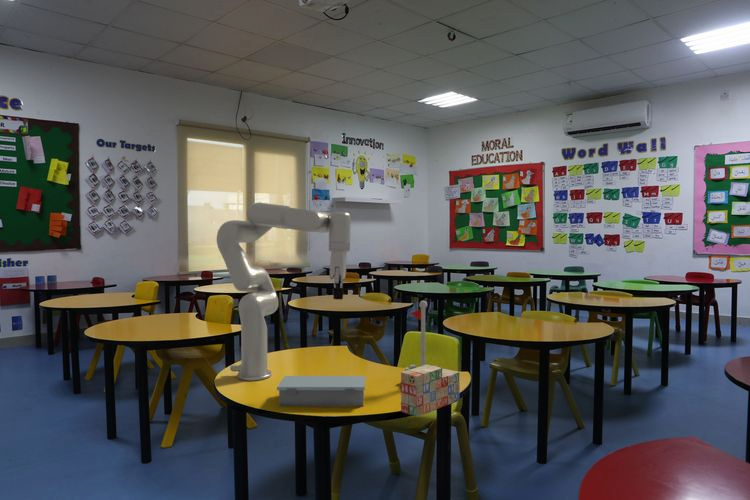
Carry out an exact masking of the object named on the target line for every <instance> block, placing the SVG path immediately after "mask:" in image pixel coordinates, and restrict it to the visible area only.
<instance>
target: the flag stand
mask: <svg viewBox="0 0 750 500" xmlns="http://www.w3.org/2000/svg"><path fill="white" fill-rule="evenodd" d="M418 306H419V309H417V310H415V311H412V312H411V313H410V314H411V316H413V317H415V318H417V320H420V367H421V366H424V365H427V364H426V309H427V307H428V302H427V301H425V300H421V301H420V302H419V304H418ZM434 366H435V367H438V366H437V365H434ZM414 368H417V365H416V364H411V365H409V367H408V366H406V367H405V368H404V371H407V370H411V369H414Z"/></svg>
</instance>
